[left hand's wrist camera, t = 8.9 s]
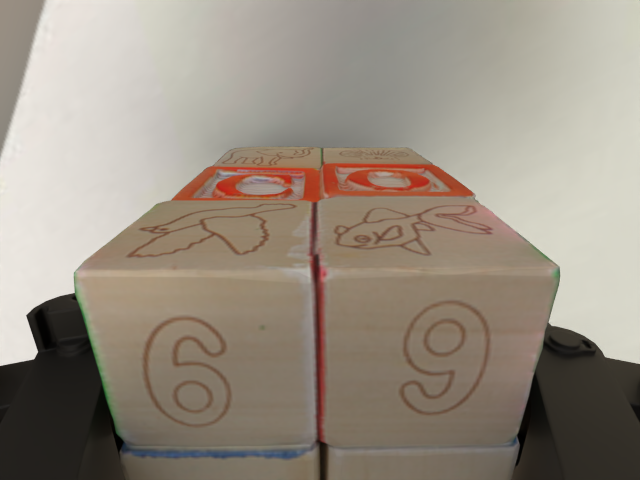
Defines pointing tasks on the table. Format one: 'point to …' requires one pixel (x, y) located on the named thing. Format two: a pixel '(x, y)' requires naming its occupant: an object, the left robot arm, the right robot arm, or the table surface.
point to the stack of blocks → (318, 323)
